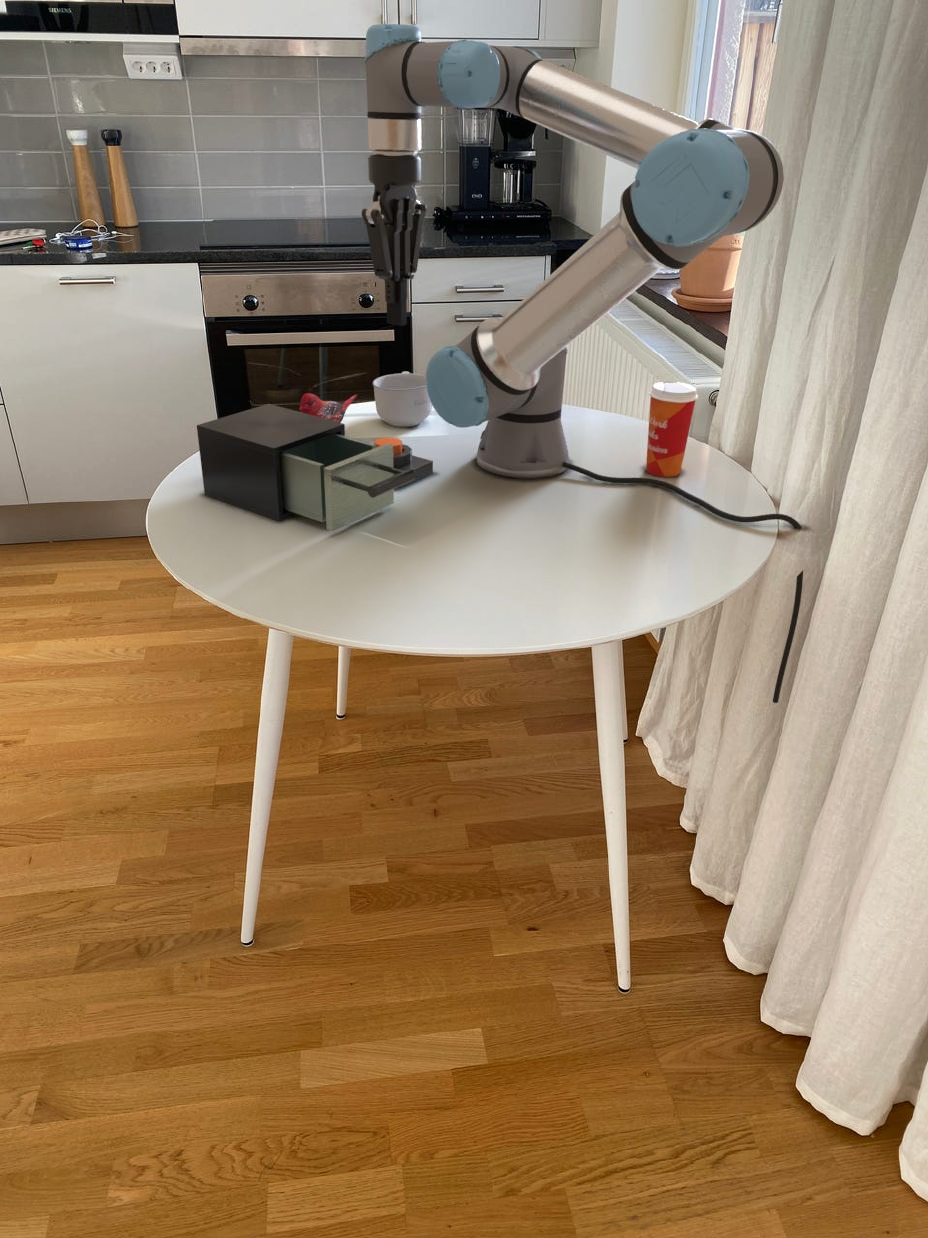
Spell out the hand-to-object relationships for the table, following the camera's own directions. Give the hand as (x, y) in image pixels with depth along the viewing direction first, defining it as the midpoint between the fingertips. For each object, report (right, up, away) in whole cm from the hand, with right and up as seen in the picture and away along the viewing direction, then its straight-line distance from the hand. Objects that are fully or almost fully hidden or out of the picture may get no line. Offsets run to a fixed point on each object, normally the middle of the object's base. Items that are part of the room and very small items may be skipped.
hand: (396, 323), depth 144 cm
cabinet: (-18, -27, -3) cm, 32 cm away
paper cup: (+43, -21, +11) cm, 49 cm away
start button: (-2, -19, +4) cm, 20 cm away
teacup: (-1, -8, +31) cm, 33 cm away
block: (-2, -22, +6) cm, 23 cm away
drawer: (-7, -30, -10) cm, 32 cm away
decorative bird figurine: (-13, -15, +20) cm, 28 cm away
